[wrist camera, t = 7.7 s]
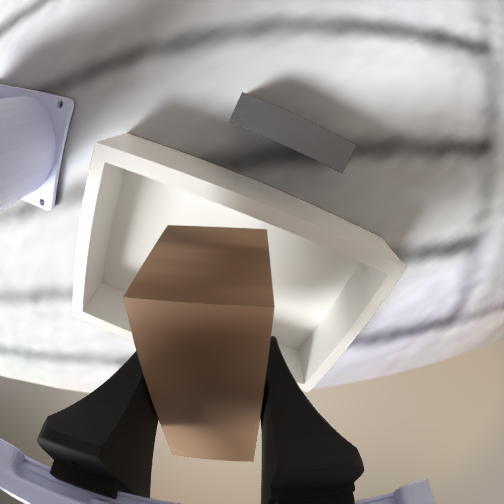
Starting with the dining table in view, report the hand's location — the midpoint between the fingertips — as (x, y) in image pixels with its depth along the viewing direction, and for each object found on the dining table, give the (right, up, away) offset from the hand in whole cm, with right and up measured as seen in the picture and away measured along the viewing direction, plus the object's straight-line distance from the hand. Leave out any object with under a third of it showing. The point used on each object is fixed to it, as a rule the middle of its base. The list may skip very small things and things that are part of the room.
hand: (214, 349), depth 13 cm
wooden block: (0, +1, +1) cm, 2 cm away
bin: (0, +4, +7) cm, 8 cm away
